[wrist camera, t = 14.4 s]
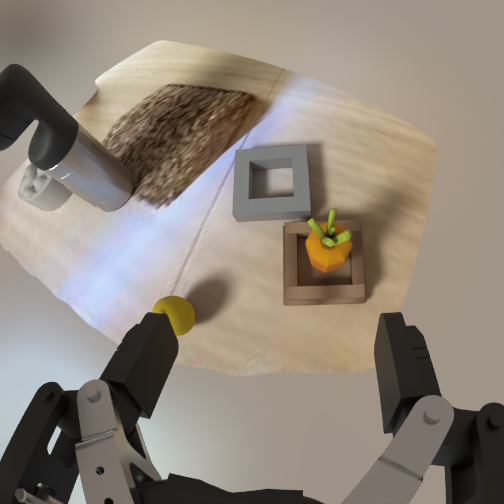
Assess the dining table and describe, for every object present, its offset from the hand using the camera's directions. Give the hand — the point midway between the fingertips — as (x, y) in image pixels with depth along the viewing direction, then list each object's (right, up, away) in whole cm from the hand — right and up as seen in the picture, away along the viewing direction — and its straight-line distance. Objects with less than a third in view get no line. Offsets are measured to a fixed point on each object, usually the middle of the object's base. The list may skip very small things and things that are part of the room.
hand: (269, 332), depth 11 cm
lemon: (-10, -7, +33) cm, 35 cm away
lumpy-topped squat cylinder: (-45, +17, +47) cm, 67 cm away
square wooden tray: (+9, +1, +31) cm, 32 cm away
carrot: (+9, +1, +29) cm, 31 cm away
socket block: (+3, +13, +35) cm, 38 cm away
